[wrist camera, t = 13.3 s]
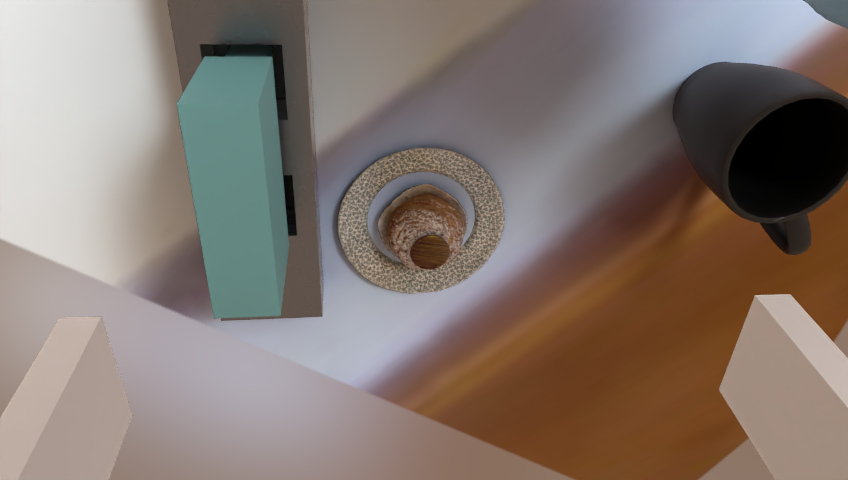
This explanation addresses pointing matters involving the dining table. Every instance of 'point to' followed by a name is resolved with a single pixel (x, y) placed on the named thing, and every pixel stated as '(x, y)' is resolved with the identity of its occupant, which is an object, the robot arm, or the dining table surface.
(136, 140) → the dining table surface
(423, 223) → the pastry
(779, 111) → the mug
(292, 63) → the rail
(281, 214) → the clip
